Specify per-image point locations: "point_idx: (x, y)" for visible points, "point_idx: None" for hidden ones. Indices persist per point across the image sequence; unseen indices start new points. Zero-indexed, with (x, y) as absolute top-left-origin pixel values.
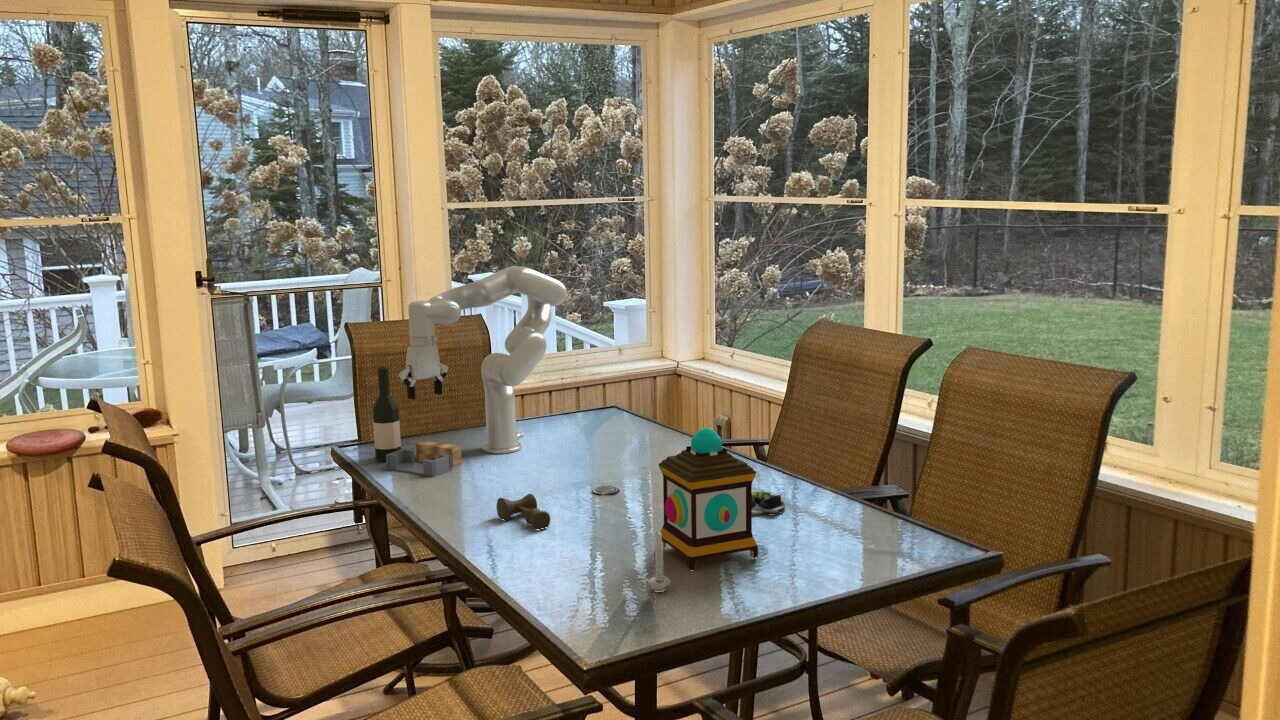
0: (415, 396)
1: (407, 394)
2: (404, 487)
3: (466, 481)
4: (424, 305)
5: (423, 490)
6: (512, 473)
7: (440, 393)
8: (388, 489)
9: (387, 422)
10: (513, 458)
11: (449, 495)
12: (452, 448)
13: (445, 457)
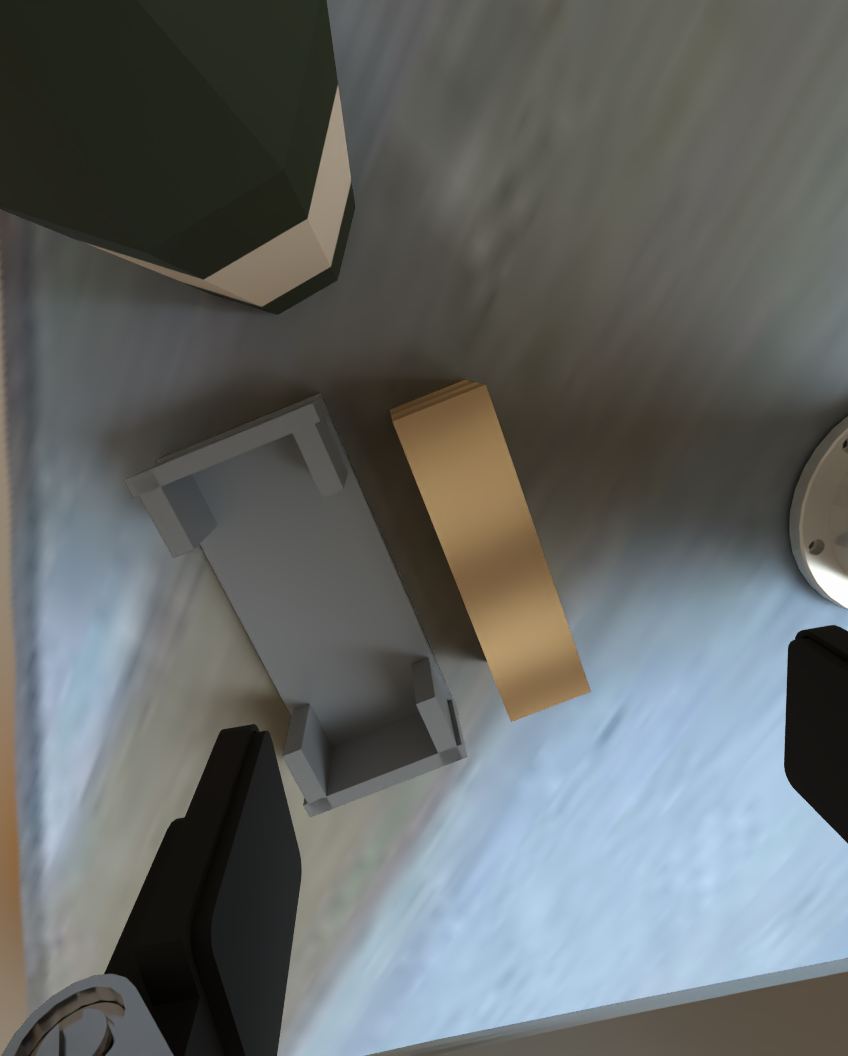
0: (294, 904)
1: (167, 833)
2: (129, 830)
3: (411, 900)
4: None
5: None
6: (632, 906)
7: (805, 789)
8: (48, 816)
9: (135, 257)
10: None
11: None
12: (517, 714)
13: (419, 774)
